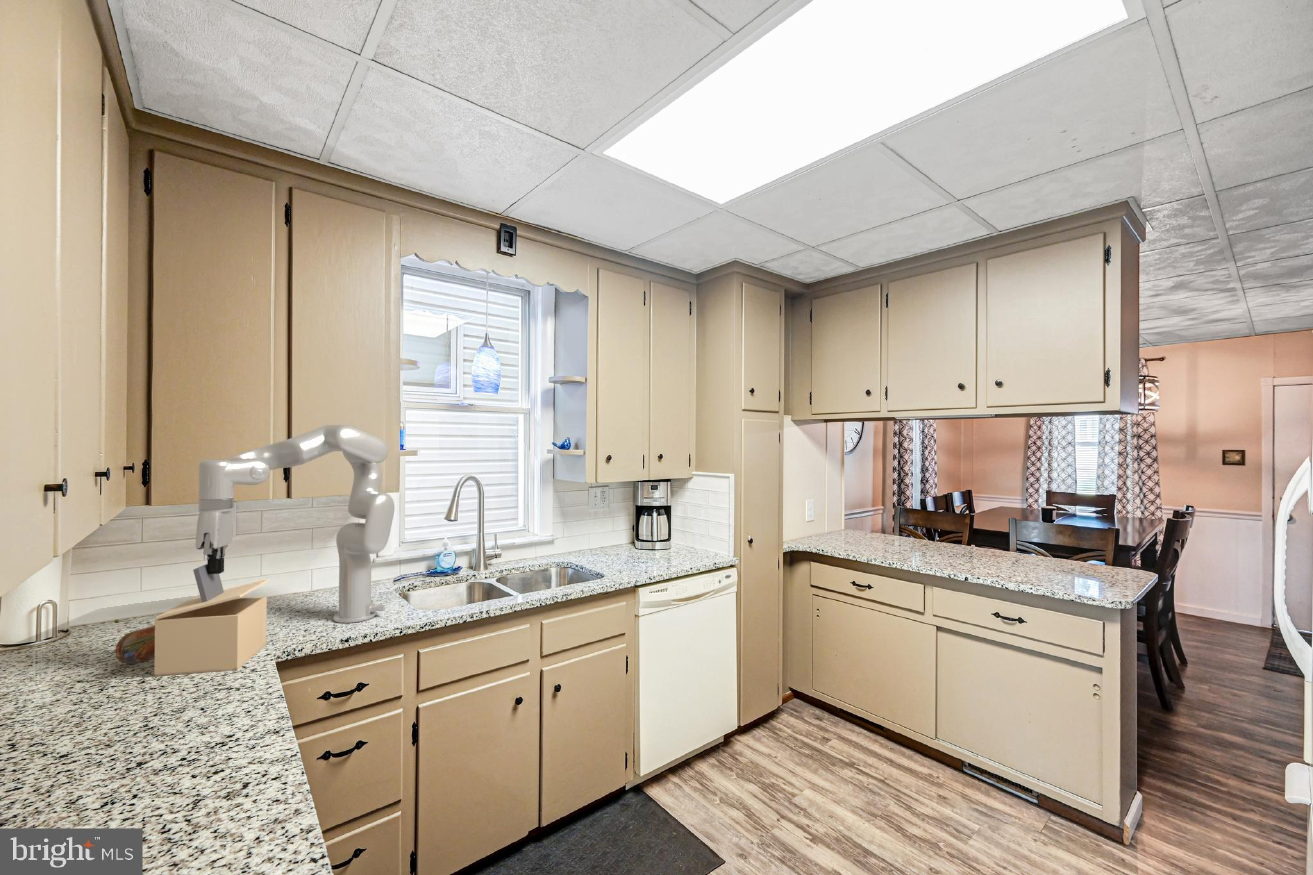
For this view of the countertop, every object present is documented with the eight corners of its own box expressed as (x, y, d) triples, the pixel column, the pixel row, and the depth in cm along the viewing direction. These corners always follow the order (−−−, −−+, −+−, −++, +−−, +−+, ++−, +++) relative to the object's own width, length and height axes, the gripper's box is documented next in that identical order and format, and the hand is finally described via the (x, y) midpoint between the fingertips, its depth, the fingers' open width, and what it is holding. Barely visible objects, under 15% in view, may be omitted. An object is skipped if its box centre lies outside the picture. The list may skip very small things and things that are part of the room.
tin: (122, 669, 147) (122, 636, 147) (112, 667, 147) (112, 635, 147) (181, 648, 161) (181, 618, 161) (172, 647, 162) (172, 617, 162)
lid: (268, 580, 164) (260, 548, 164) (240, 597, 147) (230, 562, 146) (193, 599, 160) (185, 567, 159) (155, 619, 142) (144, 583, 142)
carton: (266, 645, 164) (266, 596, 164) (237, 669, 147) (237, 615, 147) (193, 650, 160) (193, 600, 160) (154, 676, 142) (155, 620, 142)
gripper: (213, 502, 159) (213, 567, 159) (185, 509, 145) (184, 580, 145) (244, 501, 161) (243, 566, 161) (219, 508, 147) (218, 579, 147)
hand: (215, 573), depth 153 cm, fingers closed
